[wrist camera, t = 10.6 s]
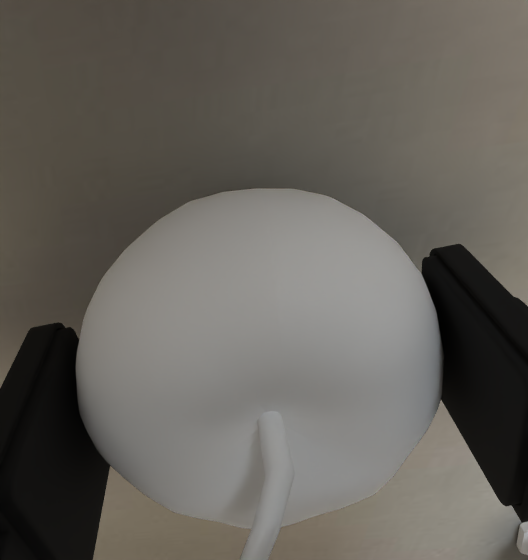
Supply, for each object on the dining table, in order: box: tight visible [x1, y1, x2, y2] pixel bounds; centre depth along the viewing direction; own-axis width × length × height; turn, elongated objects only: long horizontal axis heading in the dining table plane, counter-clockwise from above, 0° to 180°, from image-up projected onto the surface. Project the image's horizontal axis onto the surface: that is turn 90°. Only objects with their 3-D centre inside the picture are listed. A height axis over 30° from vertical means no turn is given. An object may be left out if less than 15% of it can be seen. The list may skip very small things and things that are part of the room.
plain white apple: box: [75, 189, 444, 560], centre depth 10 cm, size 7×7×8 cm
